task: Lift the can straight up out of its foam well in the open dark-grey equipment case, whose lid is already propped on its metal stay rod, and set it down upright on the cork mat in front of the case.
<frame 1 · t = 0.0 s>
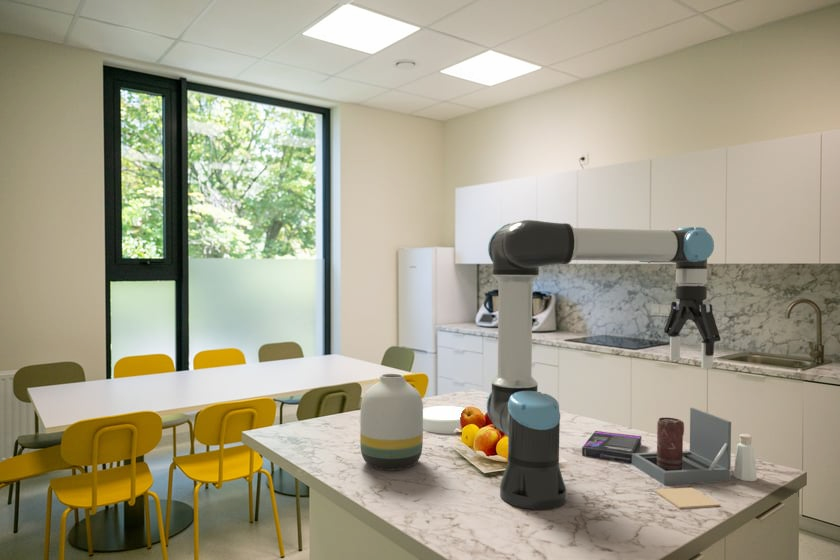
hand: (690, 363, 151), 28 cm above the kitchen island, fingers open, 13 cm apart
mat: (685, 498, 130), on the kitchen island
vase: (391, 464, 152), on the kitchen island
case: (678, 472, 148), on the kitchen island
box: (612, 452, 166), on the kitchen island
container: (446, 426, 192), on the kitchen island
can: (669, 473, 147), resting in case
salt shaker: (745, 478, 144), on the kitchen island
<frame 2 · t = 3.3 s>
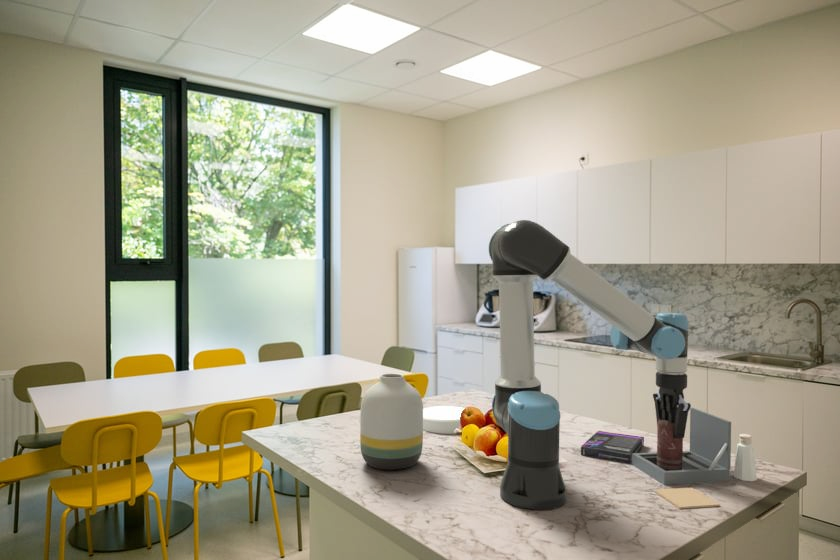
hand: (670, 461, 147), 3 cm above the kitchen island, fingers closed
can: (669, 473, 147), resting in case, touching hand
everything else where it was.
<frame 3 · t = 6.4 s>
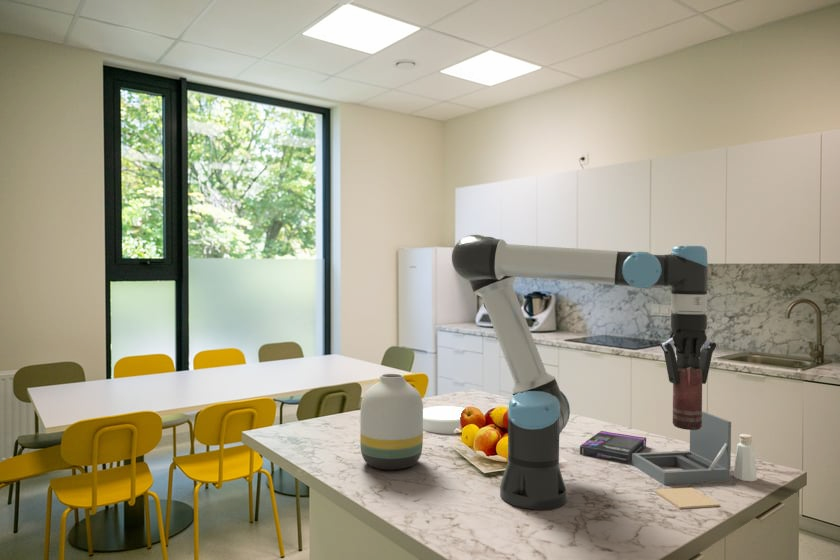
hand: (687, 414, 130), 20 cm above the kitchen island, fingers closed
can: (687, 427, 130), point 17 cm above the kitchen island, touching hand
everything else where it was.
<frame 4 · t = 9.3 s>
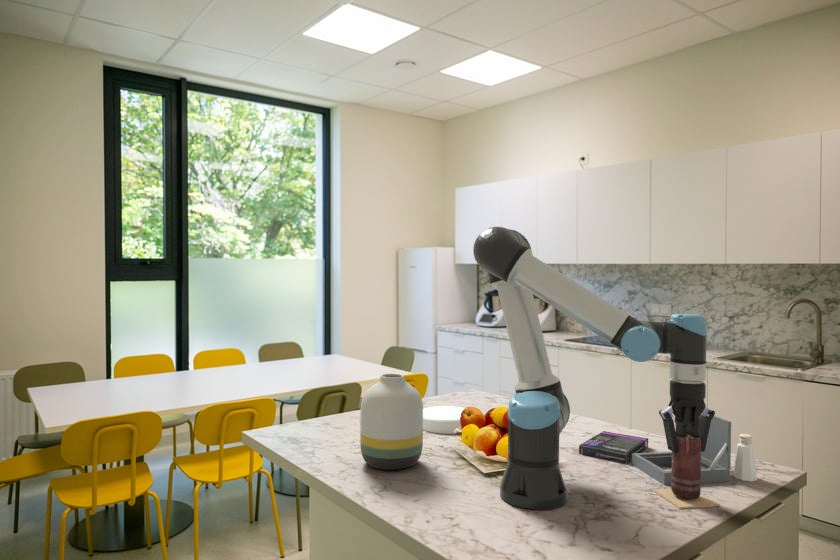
hand: (685, 481, 130), 4 cm above the kitchen island, fingers closed
can: (685, 495, 130), point 1 cm above the kitchen island, touching hand
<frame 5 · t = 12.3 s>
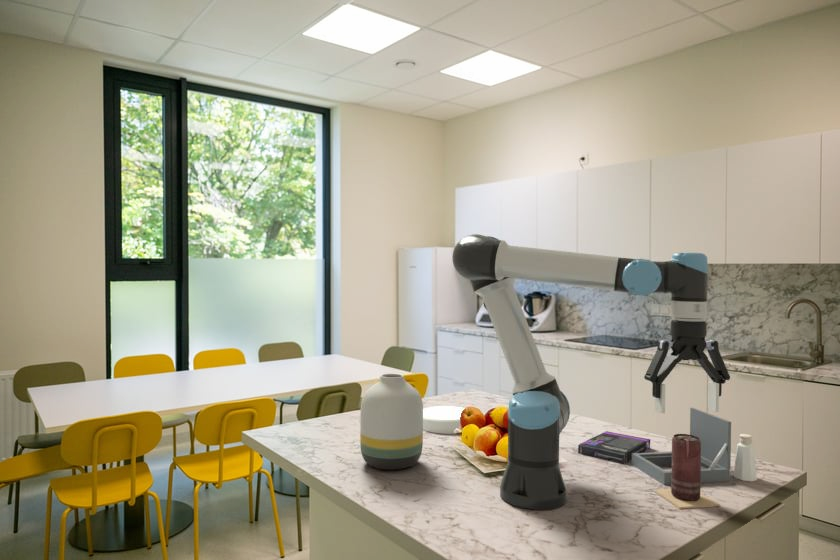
hand: (686, 411, 130), 20 cm above the kitchen island, fingers open, 13 cm apart
can: (685, 497, 130), resting on mat
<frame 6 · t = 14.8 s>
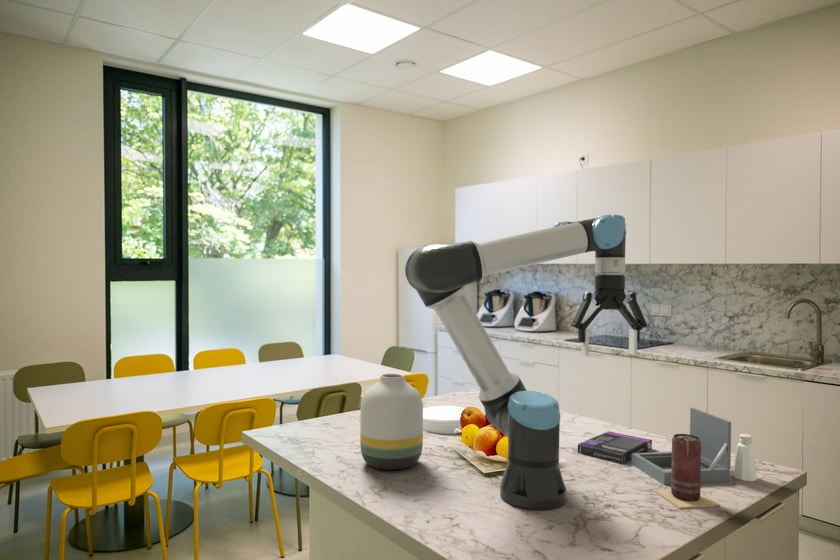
hand: (608, 354, 148), 31 cm above the kitchen island, fingers open, 13 cm apart
at the end: can inside the target area on the mat (0.1 cm from its centre), point 0.2 cm above the mat's base; can touching mat; can tilted 0° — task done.
